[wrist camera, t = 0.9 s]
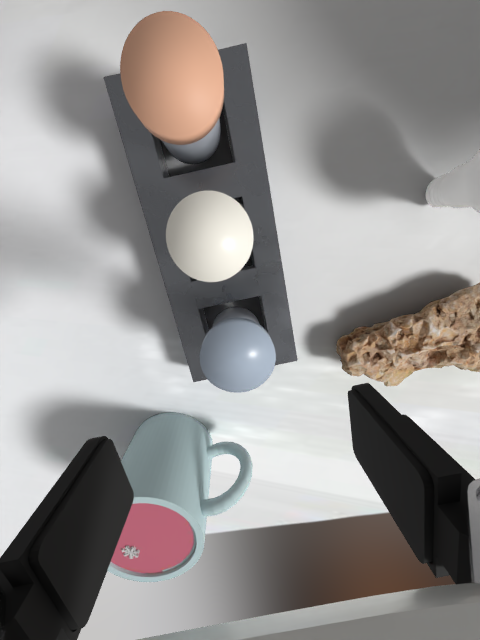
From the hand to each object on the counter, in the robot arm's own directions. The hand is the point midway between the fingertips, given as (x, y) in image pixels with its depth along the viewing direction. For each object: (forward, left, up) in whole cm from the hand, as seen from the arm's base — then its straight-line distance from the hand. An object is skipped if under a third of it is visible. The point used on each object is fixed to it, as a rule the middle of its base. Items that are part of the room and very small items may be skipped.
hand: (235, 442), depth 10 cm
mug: (+8, +13, -17) cm, 23 cm away
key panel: (0, -8, -17) cm, 18 cm away
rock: (-18, +6, -17) cm, 26 cm away
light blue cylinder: (0, 0, -14) cm, 14 cm away
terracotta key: (0, -16, -14) cm, 21 cm away
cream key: (0, -8, -14) cm, 16 cm away
